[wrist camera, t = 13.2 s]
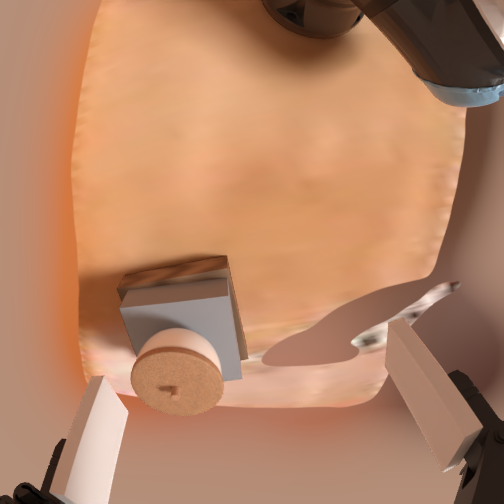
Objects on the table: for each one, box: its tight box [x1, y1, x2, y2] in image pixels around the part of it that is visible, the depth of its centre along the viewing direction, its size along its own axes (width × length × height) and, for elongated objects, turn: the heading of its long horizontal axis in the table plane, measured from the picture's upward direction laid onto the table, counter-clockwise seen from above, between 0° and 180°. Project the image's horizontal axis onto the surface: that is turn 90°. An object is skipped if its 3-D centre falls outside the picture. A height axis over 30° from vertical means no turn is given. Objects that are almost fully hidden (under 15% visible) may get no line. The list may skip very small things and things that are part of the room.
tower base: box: [117, 256, 248, 360], centre depth 46 cm, size 16×16×5 cm
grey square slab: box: [119, 278, 242, 381], centre depth 42 cm, size 14×14×5 cm
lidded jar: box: [131, 328, 224, 416], centre depth 35 cm, size 11×11×9 cm
